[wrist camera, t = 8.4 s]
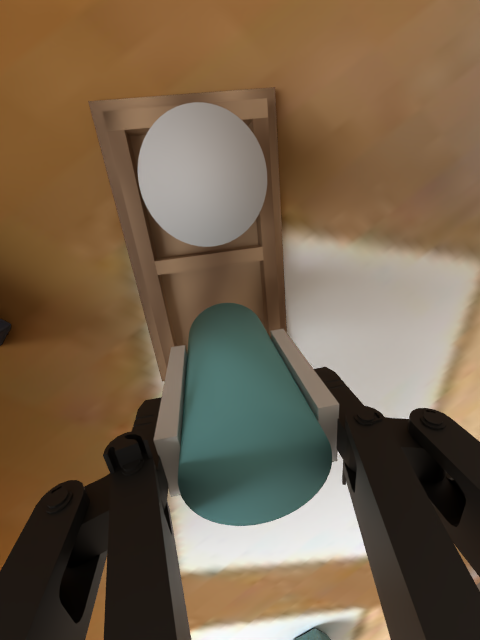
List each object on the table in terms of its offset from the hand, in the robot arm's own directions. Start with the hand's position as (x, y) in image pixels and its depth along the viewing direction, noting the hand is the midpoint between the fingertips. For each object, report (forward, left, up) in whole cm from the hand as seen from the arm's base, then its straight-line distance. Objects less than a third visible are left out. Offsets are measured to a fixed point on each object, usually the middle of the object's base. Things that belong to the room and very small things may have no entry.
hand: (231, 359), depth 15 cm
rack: (0, +4, -10) cm, 11 cm away
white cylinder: (0, +9, -9) cm, 12 cm away
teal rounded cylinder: (0, 0, -3) cm, 3 cm away
